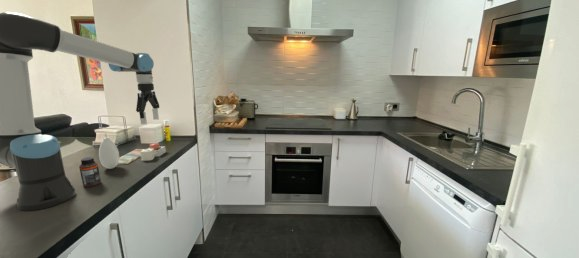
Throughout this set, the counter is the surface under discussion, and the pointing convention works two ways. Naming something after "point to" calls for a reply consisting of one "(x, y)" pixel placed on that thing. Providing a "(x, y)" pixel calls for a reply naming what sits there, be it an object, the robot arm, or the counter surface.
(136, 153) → the track board
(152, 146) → the red button
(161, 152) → the button housing
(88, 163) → the supplement bottle
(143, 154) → the ivory die
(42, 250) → the counter surface
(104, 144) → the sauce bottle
